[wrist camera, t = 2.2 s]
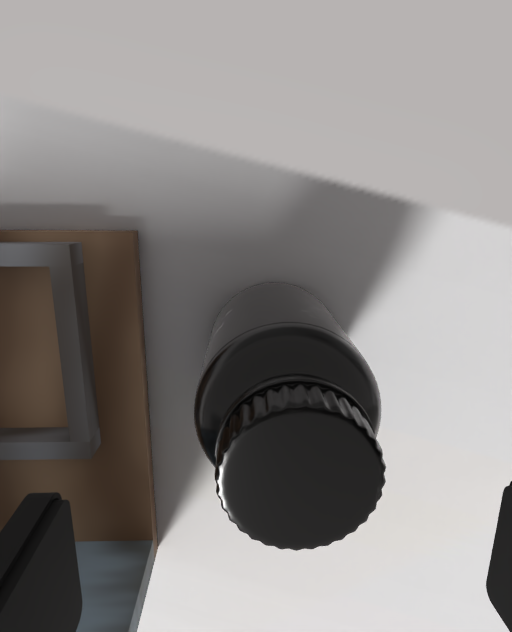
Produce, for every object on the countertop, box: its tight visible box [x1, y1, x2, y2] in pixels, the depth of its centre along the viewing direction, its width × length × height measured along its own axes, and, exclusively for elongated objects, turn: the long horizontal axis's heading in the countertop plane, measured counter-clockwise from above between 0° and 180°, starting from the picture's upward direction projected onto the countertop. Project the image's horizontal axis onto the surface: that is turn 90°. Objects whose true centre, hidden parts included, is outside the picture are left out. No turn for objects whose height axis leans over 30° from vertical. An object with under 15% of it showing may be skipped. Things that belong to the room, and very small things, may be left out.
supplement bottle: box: [194, 283, 386, 550], centre depth 17 cm, size 7×7×12 cm
